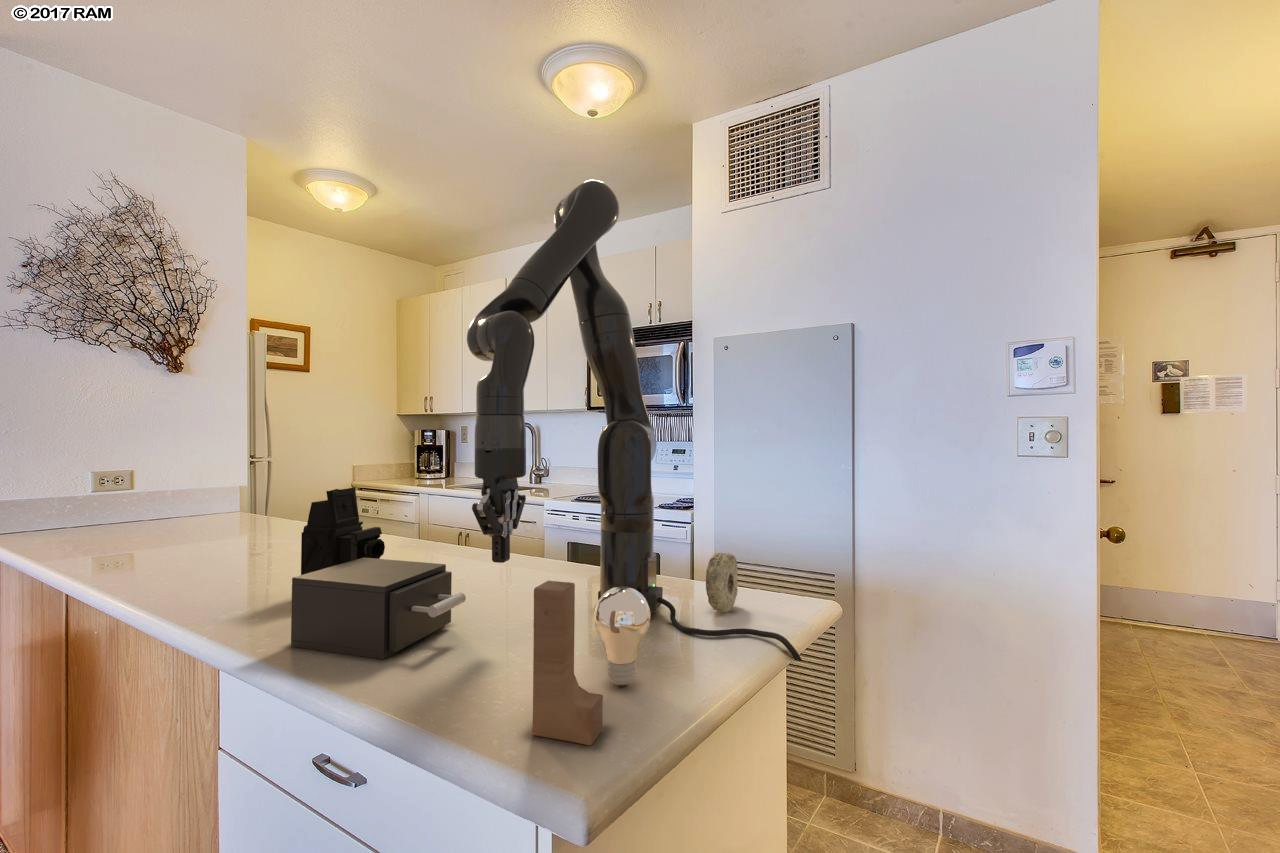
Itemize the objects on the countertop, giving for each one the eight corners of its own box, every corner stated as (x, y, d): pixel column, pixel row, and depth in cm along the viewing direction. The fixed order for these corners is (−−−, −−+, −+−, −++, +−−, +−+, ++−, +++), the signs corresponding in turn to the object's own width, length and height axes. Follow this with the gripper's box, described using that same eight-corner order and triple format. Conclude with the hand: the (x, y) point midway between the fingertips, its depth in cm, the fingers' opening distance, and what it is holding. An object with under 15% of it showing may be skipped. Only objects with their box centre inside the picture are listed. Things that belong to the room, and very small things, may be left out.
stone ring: (721, 620, 93) (721, 559, 93) (701, 616, 95) (701, 557, 95) (742, 604, 102) (742, 549, 102) (723, 601, 104) (723, 547, 104)
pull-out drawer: (475, 625, 87) (476, 573, 87) (423, 655, 75) (424, 596, 75) (373, 613, 92) (374, 565, 92) (309, 640, 80) (310, 584, 80)
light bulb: (596, 672, 72) (597, 579, 73) (650, 673, 72) (651, 580, 72) (589, 698, 66) (590, 594, 66) (649, 699, 65) (650, 595, 65)
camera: (359, 607, 98) (361, 492, 98) (292, 602, 101) (294, 489, 101) (395, 592, 108) (396, 487, 108) (333, 587, 111) (335, 485, 111)
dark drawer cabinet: (445, 626, 89) (446, 564, 89) (383, 659, 76) (384, 586, 76) (362, 616, 94) (363, 557, 94) (290, 646, 80) (291, 577, 80)
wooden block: (531, 735, 57) (533, 587, 57) (546, 719, 60) (547, 579, 61) (591, 746, 55) (592, 593, 56) (603, 730, 58) (604, 585, 59)
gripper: (498, 445, 92) (499, 551, 92) (453, 446, 79) (453, 570, 79) (541, 444, 90) (542, 553, 90) (502, 446, 77) (502, 573, 77)
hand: (500, 561), depth 84 cm, fingers closed
